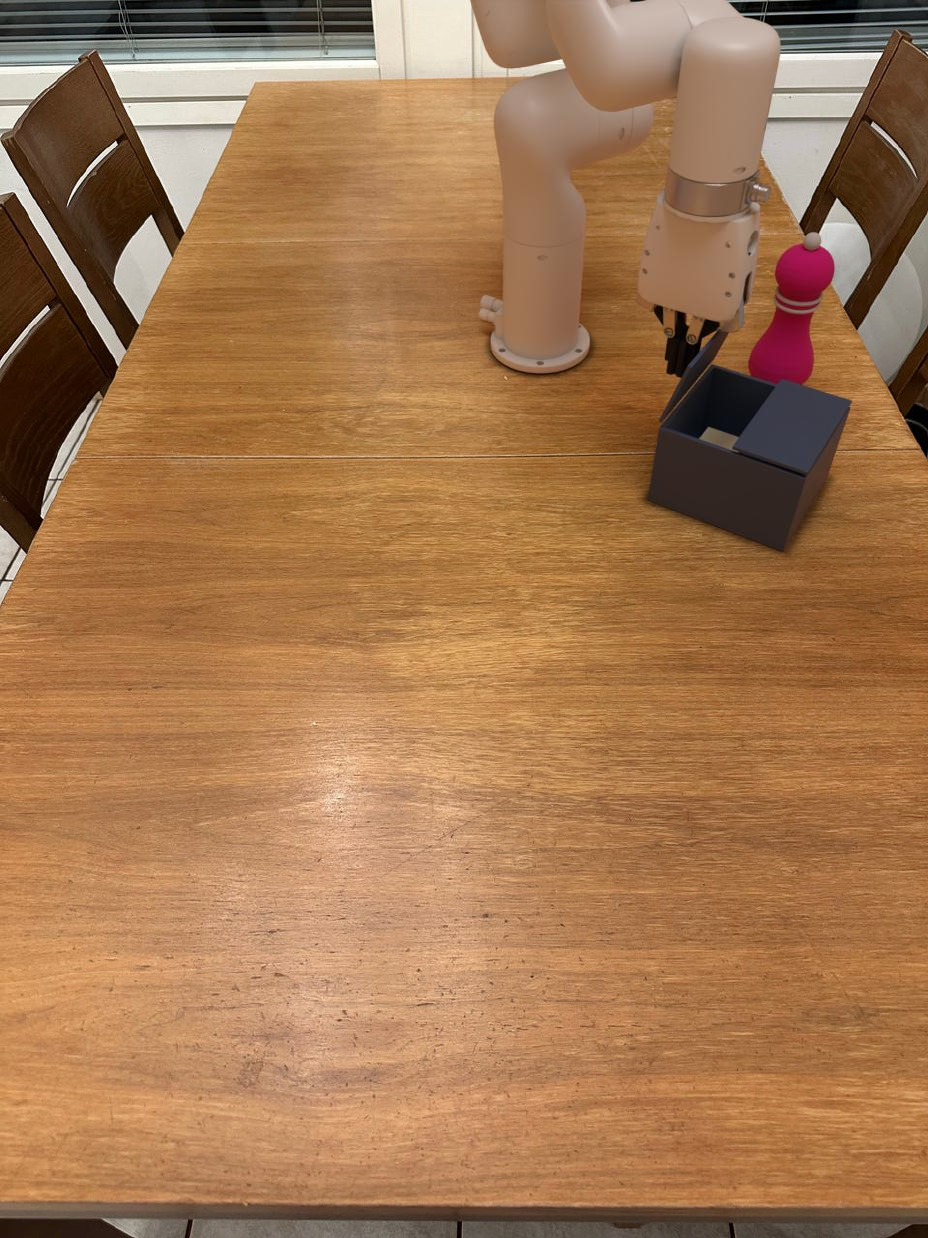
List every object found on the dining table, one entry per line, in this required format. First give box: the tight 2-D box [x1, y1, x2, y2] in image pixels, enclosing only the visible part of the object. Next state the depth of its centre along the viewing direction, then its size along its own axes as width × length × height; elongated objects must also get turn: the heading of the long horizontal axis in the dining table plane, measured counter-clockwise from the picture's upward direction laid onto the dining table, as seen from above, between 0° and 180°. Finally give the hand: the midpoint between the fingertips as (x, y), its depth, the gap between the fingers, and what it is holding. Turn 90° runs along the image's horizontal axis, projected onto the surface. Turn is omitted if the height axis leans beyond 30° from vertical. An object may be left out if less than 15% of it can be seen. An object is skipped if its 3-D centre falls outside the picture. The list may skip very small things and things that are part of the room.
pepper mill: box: [747, 231, 836, 385], centre depth 105 cm, size 7×7×20 cm
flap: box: [658, 304, 746, 424], centre depth 94 cm, size 7×13×1 cm
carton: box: [647, 363, 853, 552], centre depth 98 cm, size 15×13×10 cm
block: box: [699, 427, 744, 454], centre depth 101 cm, size 4×4×4 cm
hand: (679, 368), depth 96 cm, fingers closed
